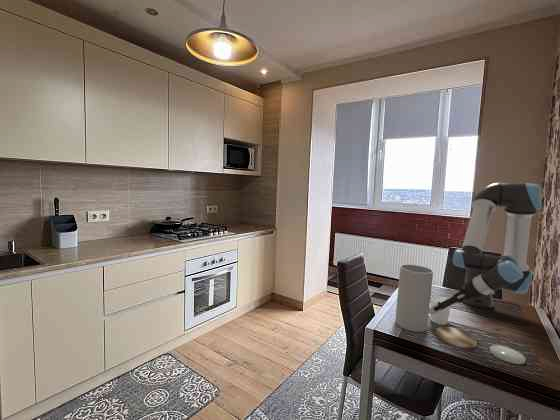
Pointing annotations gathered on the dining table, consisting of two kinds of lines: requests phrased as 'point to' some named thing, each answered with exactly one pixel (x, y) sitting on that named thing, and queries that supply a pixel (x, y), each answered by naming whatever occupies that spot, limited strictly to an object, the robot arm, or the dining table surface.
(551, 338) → the dining table surface
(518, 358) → the sage coaster
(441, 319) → the white cup
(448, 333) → the birch trivet
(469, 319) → the dining table surface
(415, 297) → the cylinder vase
